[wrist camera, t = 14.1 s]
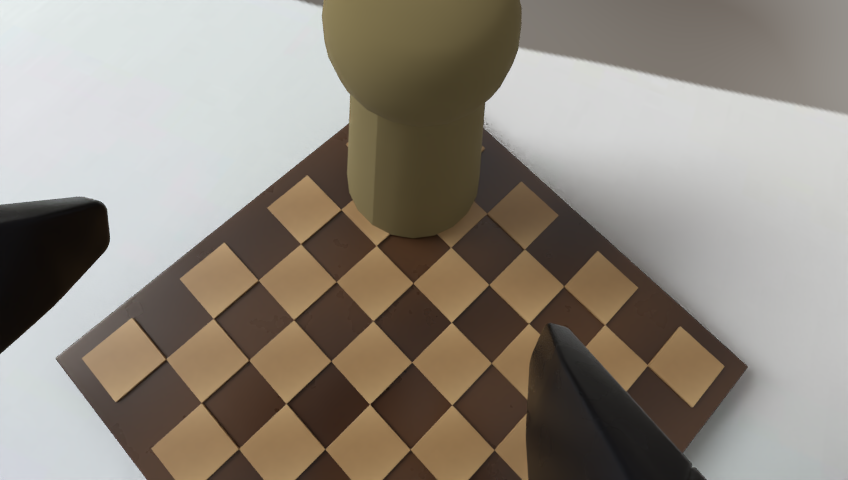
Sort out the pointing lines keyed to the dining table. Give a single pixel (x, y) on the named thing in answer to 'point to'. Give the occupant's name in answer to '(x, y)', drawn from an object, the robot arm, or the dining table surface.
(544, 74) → the dining table surface
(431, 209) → the chess pawn
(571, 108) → the dining table surface
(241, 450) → the chessboard
